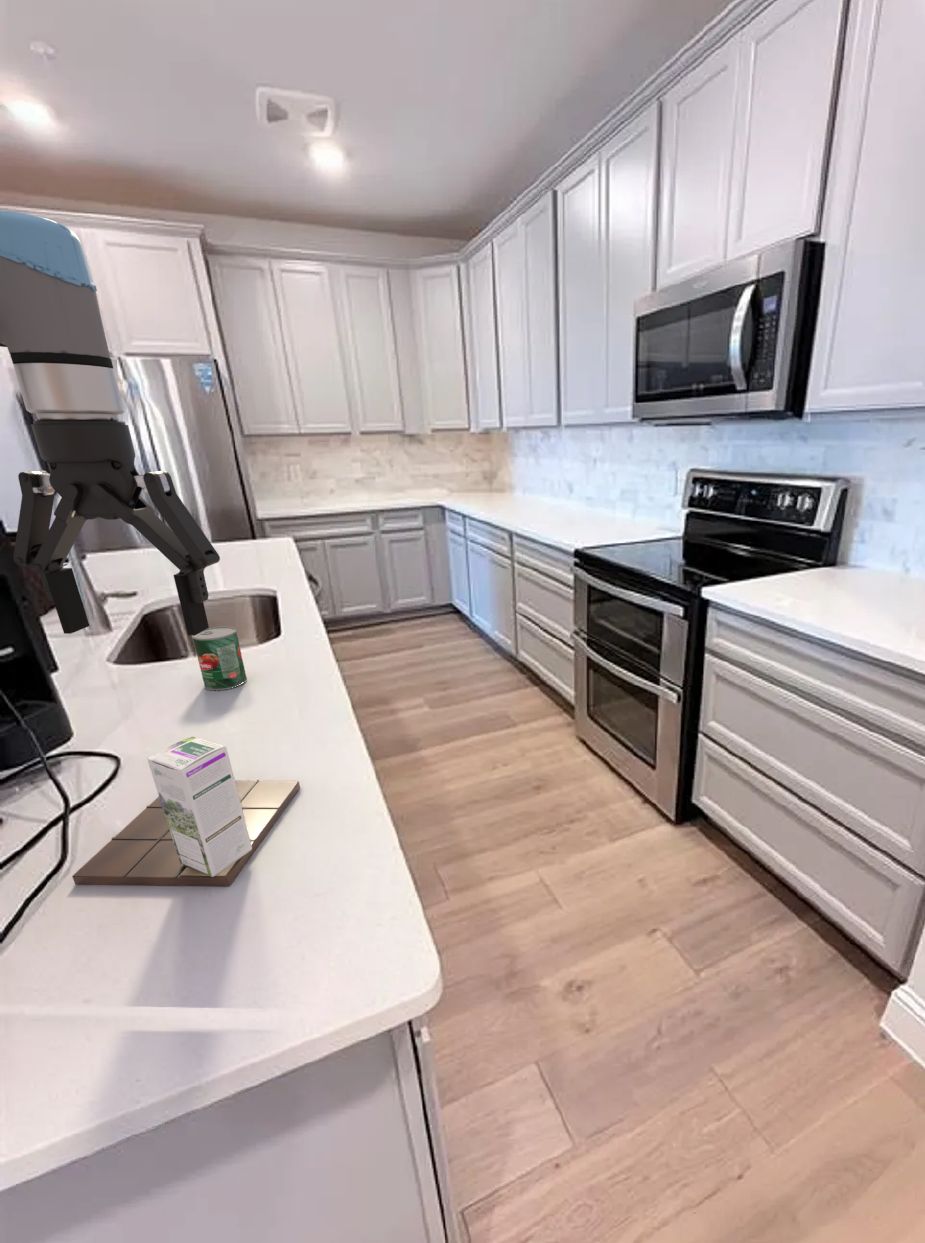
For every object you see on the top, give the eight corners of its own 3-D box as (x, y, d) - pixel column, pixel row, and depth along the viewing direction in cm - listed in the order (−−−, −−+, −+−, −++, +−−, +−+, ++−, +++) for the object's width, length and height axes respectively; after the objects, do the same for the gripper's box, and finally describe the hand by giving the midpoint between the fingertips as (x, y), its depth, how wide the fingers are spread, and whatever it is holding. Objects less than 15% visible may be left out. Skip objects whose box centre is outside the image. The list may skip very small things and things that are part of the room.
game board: (74, 884, 67) (71, 875, 67) (178, 786, 86) (176, 779, 85) (229, 886, 67) (227, 877, 66) (300, 787, 85) (298, 780, 85)
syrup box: (254, 848, 71) (229, 743, 65) (211, 880, 66) (180, 768, 60) (221, 836, 73) (194, 733, 68) (177, 866, 68) (144, 757, 63)
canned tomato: (255, 676, 124) (244, 626, 120) (231, 691, 117) (219, 639, 113) (220, 674, 126) (209, 625, 121) (195, 689, 118) (182, 637, 114)
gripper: (228, 418, 59) (266, 621, 67) (-12, 418, 60) (54, 618, 68) (183, 417, 52) (231, 643, 60) (-87, 417, 53) (-4, 640, 61)
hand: (137, 631), depth 64 cm, fingers open, 13 cm apart
